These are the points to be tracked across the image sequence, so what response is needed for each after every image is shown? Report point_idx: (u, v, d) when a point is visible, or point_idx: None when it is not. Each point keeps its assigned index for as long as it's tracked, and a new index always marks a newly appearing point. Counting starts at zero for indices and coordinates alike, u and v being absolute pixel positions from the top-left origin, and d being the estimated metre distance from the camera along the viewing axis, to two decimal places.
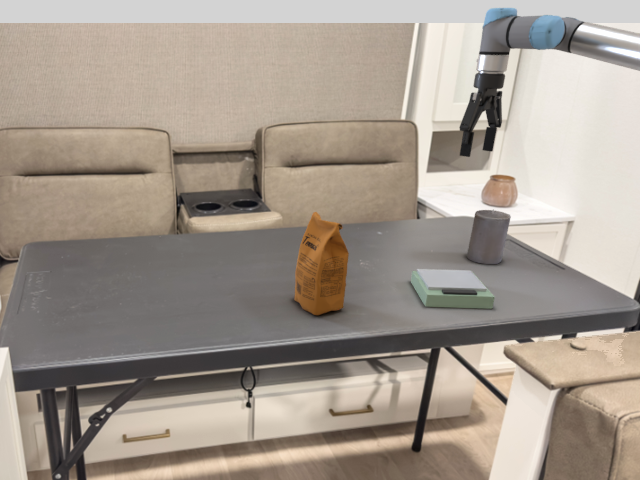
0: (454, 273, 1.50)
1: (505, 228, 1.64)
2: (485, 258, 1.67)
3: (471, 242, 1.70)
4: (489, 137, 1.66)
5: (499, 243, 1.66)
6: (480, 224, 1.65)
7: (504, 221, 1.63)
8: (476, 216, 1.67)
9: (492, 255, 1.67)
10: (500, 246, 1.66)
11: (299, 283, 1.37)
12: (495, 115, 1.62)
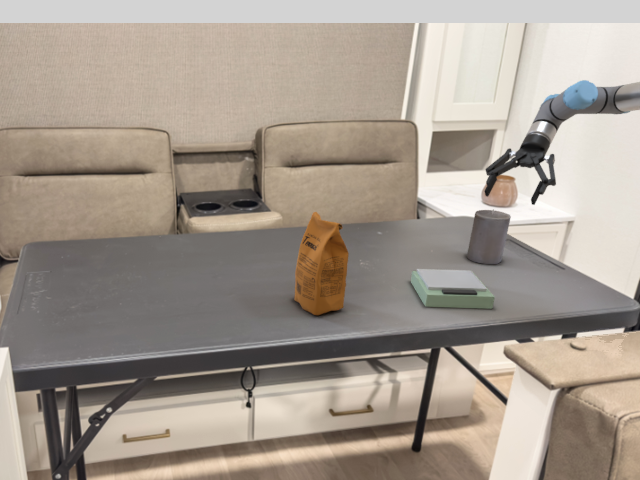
0: (454, 273, 1.50)
1: (505, 228, 1.64)
2: (485, 258, 1.67)
3: (471, 242, 1.70)
4: None
5: (500, 243, 1.66)
6: (480, 224, 1.66)
7: (504, 221, 1.63)
8: (476, 216, 1.67)
9: (492, 255, 1.67)
10: (500, 246, 1.66)
11: (299, 283, 1.37)
12: (540, 170, 1.70)
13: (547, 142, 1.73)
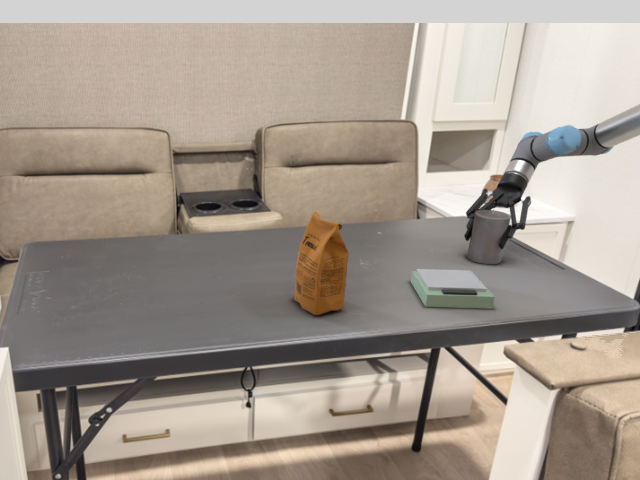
0: (454, 273, 1.50)
1: (505, 228, 1.64)
2: (485, 258, 1.67)
3: (471, 242, 1.70)
4: None
5: None
6: (480, 224, 1.65)
7: (504, 221, 1.63)
8: (476, 216, 1.67)
9: (492, 255, 1.67)
10: None
11: (299, 283, 1.37)
12: (511, 213, 1.66)
13: (524, 182, 1.68)
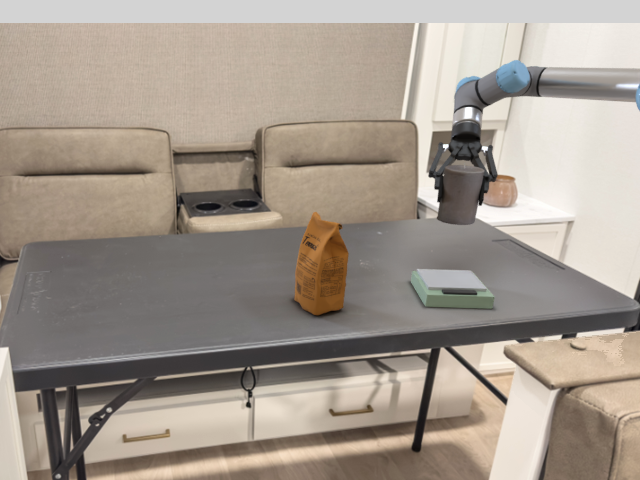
0: (454, 273, 1.50)
1: (481, 182, 1.48)
2: (465, 219, 1.49)
3: (446, 203, 1.50)
4: None
5: (477, 199, 1.48)
6: (458, 180, 1.46)
7: (482, 174, 1.46)
8: (451, 172, 1.46)
9: (472, 214, 1.49)
10: (477, 203, 1.49)
11: (299, 283, 1.37)
12: (480, 165, 1.50)
13: (480, 130, 1.54)
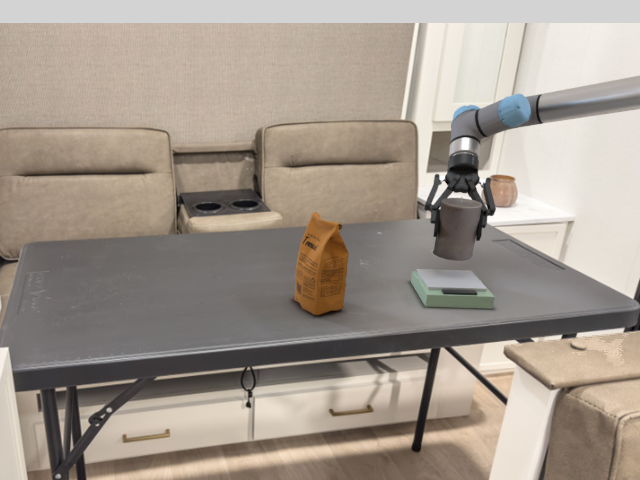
0: (454, 273, 1.50)
1: (479, 217, 1.43)
2: (462, 254, 1.44)
3: (443, 238, 1.44)
4: (478, 224, 1.44)
5: (475, 234, 1.43)
6: (455, 215, 1.41)
7: (480, 209, 1.41)
8: (448, 207, 1.41)
9: (469, 249, 1.44)
10: (475, 238, 1.44)
11: (299, 283, 1.37)
12: (477, 198, 1.45)
13: (478, 162, 1.49)
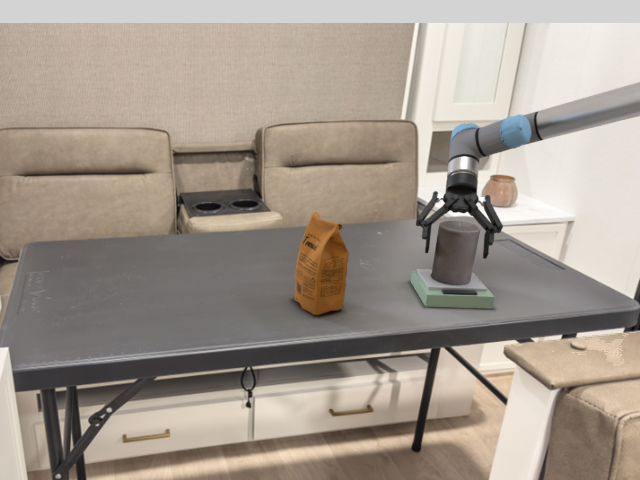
0: None
1: (477, 241, 1.40)
2: (460, 279, 1.42)
3: (441, 262, 1.42)
4: (484, 242, 1.41)
5: (473, 258, 1.41)
6: (453, 240, 1.39)
7: (478, 233, 1.39)
8: (446, 231, 1.39)
9: (467, 274, 1.42)
10: (473, 262, 1.42)
11: (299, 283, 1.37)
12: (481, 216, 1.43)
13: (477, 181, 1.46)
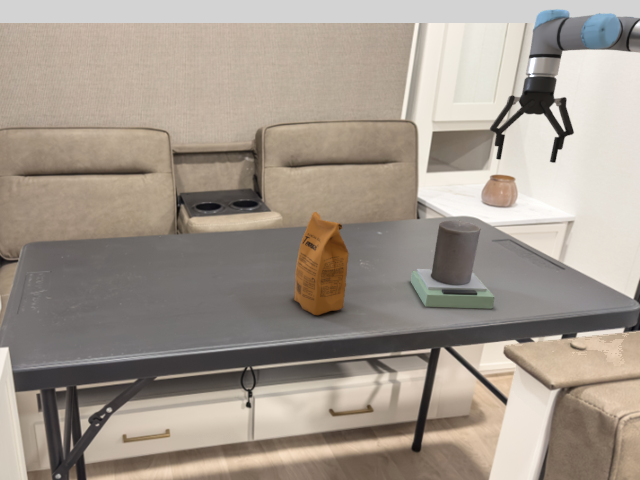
0: None
1: (477, 241, 1.40)
2: (460, 279, 1.42)
3: (441, 262, 1.42)
4: (554, 147, 1.54)
5: (473, 258, 1.41)
6: (453, 240, 1.39)
7: (478, 233, 1.39)
8: (446, 231, 1.39)
9: (467, 274, 1.42)
10: (473, 262, 1.42)
11: (299, 283, 1.37)
12: (554, 122, 1.51)
13: (555, 82, 1.49)
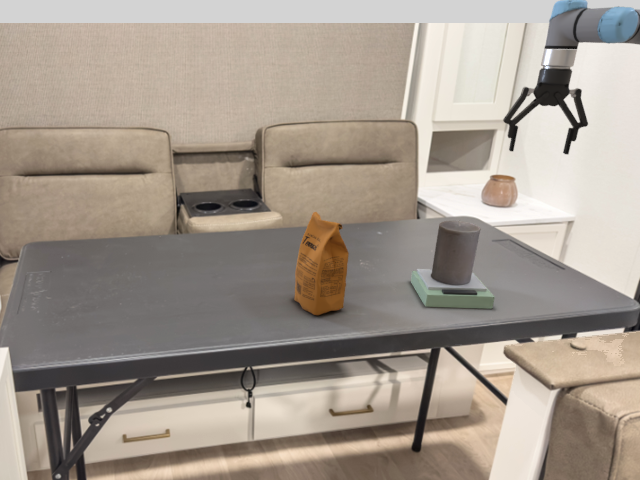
0: None
1: (477, 241, 1.40)
2: (460, 279, 1.42)
3: (441, 262, 1.42)
4: (567, 139, 1.54)
5: (473, 258, 1.41)
6: (453, 240, 1.39)
7: (478, 233, 1.39)
8: (446, 231, 1.39)
9: (467, 274, 1.42)
10: (473, 262, 1.42)
11: (299, 283, 1.37)
12: (568, 114, 1.51)
13: (571, 73, 1.47)
